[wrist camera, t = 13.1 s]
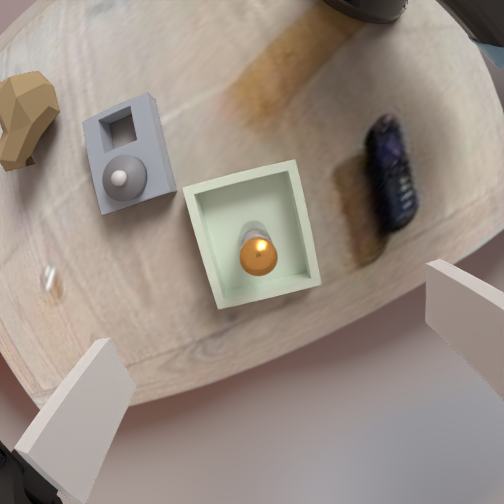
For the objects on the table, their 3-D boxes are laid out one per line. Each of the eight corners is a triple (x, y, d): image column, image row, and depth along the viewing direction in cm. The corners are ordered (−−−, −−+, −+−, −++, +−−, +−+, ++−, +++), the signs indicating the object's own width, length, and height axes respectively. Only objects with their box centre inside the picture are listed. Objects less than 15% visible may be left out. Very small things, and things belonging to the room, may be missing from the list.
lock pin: (237, 224, 32) (235, 244, 22) (263, 217, 32) (273, 235, 22) (244, 249, 32) (245, 280, 23) (269, 242, 32) (281, 271, 22)
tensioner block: (93, 125, 29) (71, 118, 24) (155, 99, 28) (139, 85, 23) (112, 212, 32) (91, 218, 26) (177, 190, 31) (163, 192, 26)
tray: (189, 187, 31) (182, 187, 28) (290, 161, 31) (295, 159, 27) (220, 297, 35) (218, 309, 31) (314, 274, 34) (321, 284, 31)
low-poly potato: (46, 67, 26) (-13, 107, 22) (38, 38, 17) (-36, 90, 13) (76, 141, 33) (17, 184, 29) (73, 129, 25) (-3, 186, 21)
